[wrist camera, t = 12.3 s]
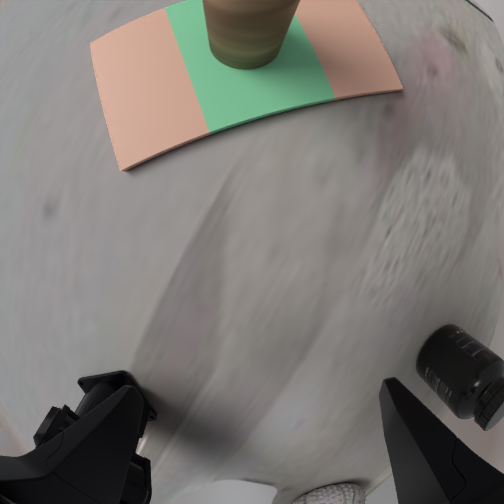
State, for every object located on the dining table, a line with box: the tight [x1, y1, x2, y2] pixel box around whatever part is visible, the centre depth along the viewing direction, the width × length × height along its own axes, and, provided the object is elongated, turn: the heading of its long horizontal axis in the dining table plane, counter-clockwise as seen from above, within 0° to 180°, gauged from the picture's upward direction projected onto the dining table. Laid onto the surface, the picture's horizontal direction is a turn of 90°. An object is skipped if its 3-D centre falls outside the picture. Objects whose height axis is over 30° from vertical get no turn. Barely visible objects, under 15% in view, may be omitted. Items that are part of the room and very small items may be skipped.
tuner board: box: [90, 0, 403, 171], centre depth 15 cm, size 22×12×1 cm, turn 109°
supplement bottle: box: [416, 325, 504, 431], centre depth 17 cm, size 7×7×12 cm
